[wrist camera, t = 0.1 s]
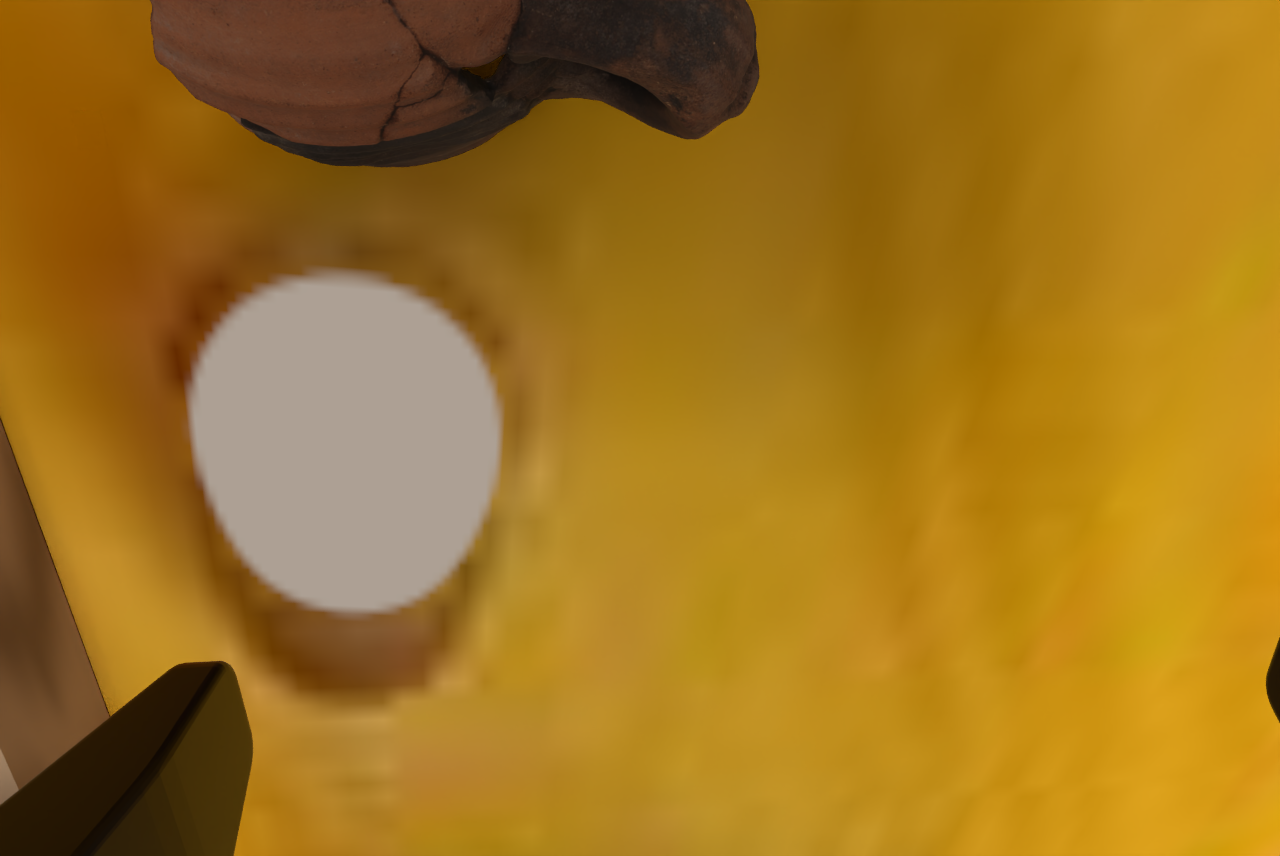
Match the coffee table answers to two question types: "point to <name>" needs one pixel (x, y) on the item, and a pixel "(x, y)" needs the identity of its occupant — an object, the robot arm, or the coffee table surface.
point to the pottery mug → (451, 67)
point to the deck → (36, 647)
